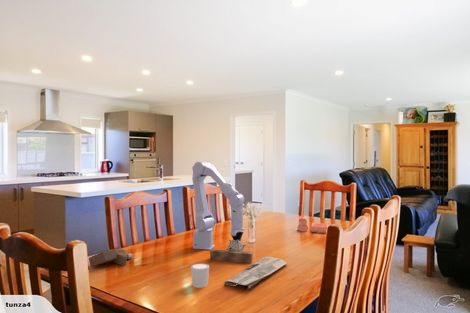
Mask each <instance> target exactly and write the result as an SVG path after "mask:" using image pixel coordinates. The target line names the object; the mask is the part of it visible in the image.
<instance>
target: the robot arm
mask: <svg viewBox="0 0 470 313" xmlns="http://www.w3.org/2000/svg"><path fill="white" fill-rule="evenodd" d="M207 177H210V178H212V179H213V181H215V182H214V183H216V184H217V185H218V186H219V187H220V191H221V193H222V194H223V195H224V196H225V198H227V200H228V204H229V206H230V231H231V232H230V236H231V238H232V240H238V238H239V241H240V242H242V237H243V234H244V231H245V230H246V228H245V227H244V204H245V202H246V198H245V196H244V194H243V193H239V191H238V190H237V189H236V188H235V187H234V185H233V183H230V182H226V180H225V179H224V178H223V177H222V175H221V174H220V173H219V171H218V170H217V168H216V166H215V165H214V164H213V163H212V162H211V161H196V162H195V163H194V164H193V166H192V179H191V180H192V185H193V191H194V196H195V202H196V207H197V211H198V212H197V214H196V216H195V228H196V229H194V231H193V234H192V235H193V236H192V237H193V238H192V241H193V247H192V249H195V250H206V251H207V250H209V251H211V250H213V249H214V248H215V246H216V245H215V244H213V243H214V242H213V229H214V227H215V226H216V219H215V217H214V216H213V212H211V211H210V209H209V204H208V198H207V194H206V187H205V182H204V180H205V179H206V178H207Z"/></svg>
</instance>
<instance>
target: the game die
mask: <svg viewBox="0 0 470 313" xmlns="http://www.w3.org/2000/svg"><path fill="white" fill-rule="evenodd" d="M228 241H229V243H228V246H227V248H226V249H225V251H239V252H244V251H243V250H244V248H245V247H246V246H247V245H246V244H243V242H242V241H239V238H238V240H233V239H232V240H231V239H228Z"/></svg>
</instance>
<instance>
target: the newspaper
mask: <svg viewBox="0 0 470 313" xmlns="http://www.w3.org/2000/svg"><path fill="white" fill-rule="evenodd" d="M286 264H288V262H287V261H285V260H284V259H282V258H277V257H272V256H264V257H263V258H261V259H258V261H256V262H255V263H253V264H251V265H250V266H248V267H246V268H245V269H244V270H241V271H240V272H239V273H237V274H235V275H234V276H231V277H230V278H229V279H227V280H226V281H224V285H225V284H226V286H231V285H232V286H233V285H236V284H238V285H242V286H247V287H246V291H247V290H249V289H251V288H252V287H253V286H255V285H256V284H258V283H259V282H261V281H262V280H263V279H265V278H266V277H268V276H269V275H271V274H273V273H274V272H276V271H277V270H279V269H281V268H282V267H283V266H285V265H286ZM233 287H234V286H233Z"/></svg>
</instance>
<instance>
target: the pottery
mask: <svg viewBox="0 0 470 313" xmlns="http://www.w3.org/2000/svg"><path fill="white" fill-rule="evenodd" d="M307 219H308V218H307V216H305V214H301V216H298V225H297V231H298V230H299V231H298V232H308V231H307V230H309V226H308V224H307V223H308V221H307ZM326 229H327V230H328V223H320V222H311V233H312V232H317V233H316V234H326Z"/></svg>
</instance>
